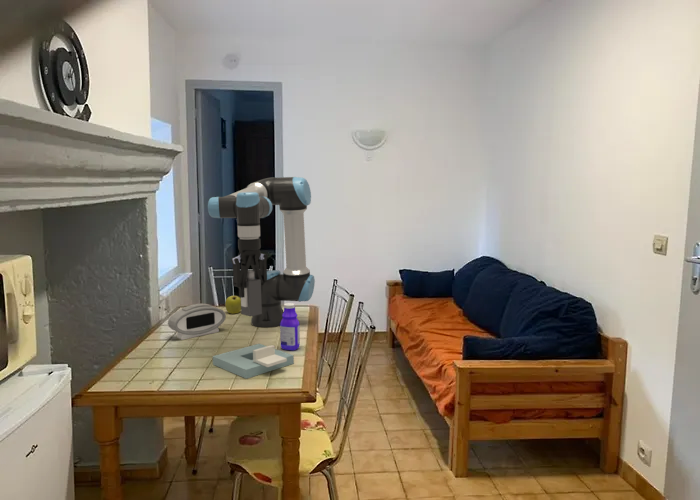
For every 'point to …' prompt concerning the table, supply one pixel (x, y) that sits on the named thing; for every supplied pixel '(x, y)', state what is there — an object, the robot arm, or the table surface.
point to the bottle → (289, 328)
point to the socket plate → (248, 361)
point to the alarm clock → (196, 320)
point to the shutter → (267, 356)
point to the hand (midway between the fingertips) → (251, 304)
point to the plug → (252, 296)
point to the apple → (233, 304)
